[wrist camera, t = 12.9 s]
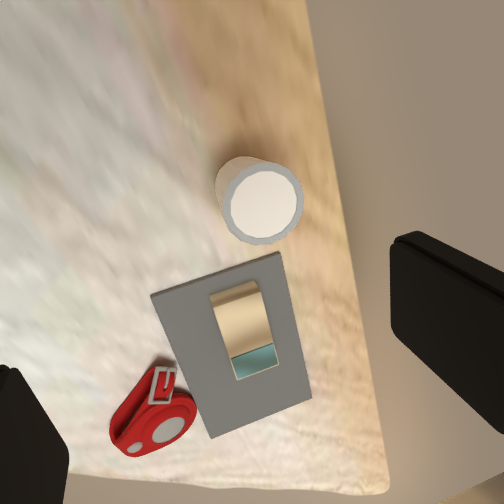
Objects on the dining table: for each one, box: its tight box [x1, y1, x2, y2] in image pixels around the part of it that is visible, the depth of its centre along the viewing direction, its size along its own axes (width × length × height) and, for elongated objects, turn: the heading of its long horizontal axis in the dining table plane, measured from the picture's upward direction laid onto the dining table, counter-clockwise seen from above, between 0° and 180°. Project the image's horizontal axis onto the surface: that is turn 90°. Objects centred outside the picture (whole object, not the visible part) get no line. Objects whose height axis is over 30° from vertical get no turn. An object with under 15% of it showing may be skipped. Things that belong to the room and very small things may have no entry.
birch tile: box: [209, 280, 279, 381], centre depth 40 cm, size 10×5×3 cm, turn 13°
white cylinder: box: [215, 156, 304, 245], centre depth 33 cm, size 7×7×7 cm
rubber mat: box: [150, 251, 312, 439], centre depth 43 cm, size 14×22×1 cm, turn 13°
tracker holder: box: [109, 366, 197, 457], centre depth 42 cm, size 12×4×10 cm
